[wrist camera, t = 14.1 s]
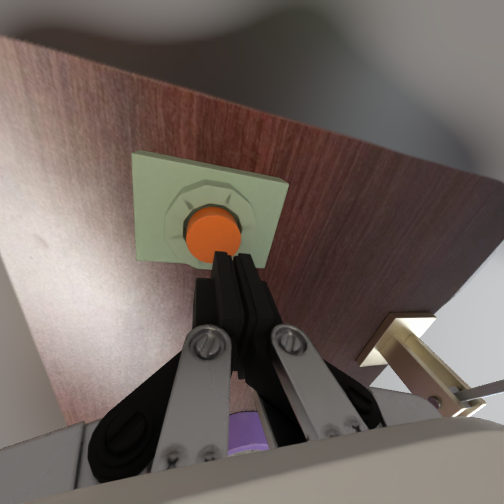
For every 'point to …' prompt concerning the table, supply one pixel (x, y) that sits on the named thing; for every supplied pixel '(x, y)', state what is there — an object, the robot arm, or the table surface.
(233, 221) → the button
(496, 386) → the lever
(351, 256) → the table surface
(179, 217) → the button block
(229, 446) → the tape roll
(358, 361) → the bracket
